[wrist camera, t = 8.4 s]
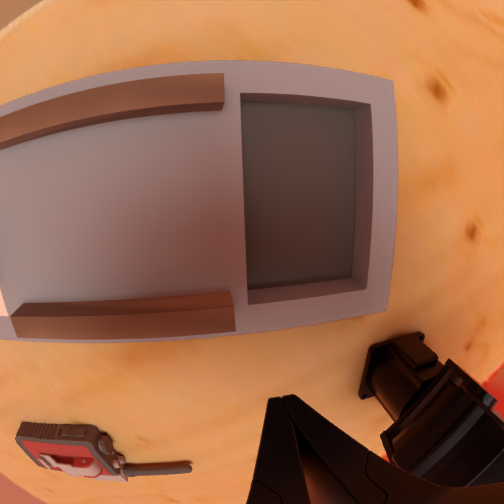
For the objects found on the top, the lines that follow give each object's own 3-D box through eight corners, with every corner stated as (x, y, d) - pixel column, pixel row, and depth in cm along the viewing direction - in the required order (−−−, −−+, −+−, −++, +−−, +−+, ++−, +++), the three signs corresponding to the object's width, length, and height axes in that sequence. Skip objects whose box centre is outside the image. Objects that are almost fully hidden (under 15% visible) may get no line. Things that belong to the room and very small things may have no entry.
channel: (231, 314, 17) (235, 331, 15) (30, 323, 15) (17, 337, 13) (220, 84, 13) (224, 73, 12) (1, 127, 11) (-17, 124, 9)
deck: (369, 297, 22) (385, 310, 19) (-32, 321, 16) (-46, 334, 14) (373, 87, 17) (392, 80, 15) (-60, 147, 11) (-78, 148, 9)
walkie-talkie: (52, 462, 22) (194, 463, 25) (44, 486, 18) (196, 495, 21) (13, 417, 20) (165, 415, 22) (0, 442, 16) (164, 453, 18)
